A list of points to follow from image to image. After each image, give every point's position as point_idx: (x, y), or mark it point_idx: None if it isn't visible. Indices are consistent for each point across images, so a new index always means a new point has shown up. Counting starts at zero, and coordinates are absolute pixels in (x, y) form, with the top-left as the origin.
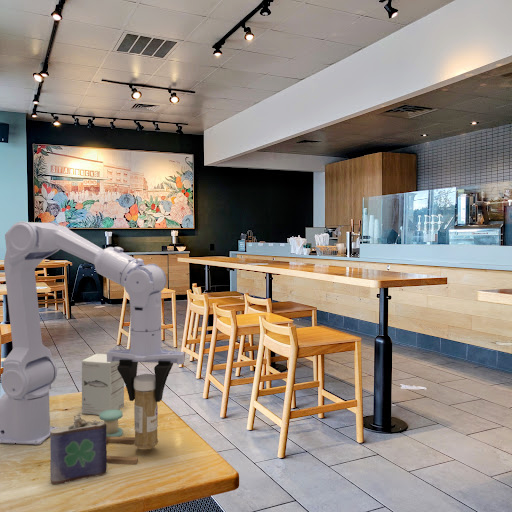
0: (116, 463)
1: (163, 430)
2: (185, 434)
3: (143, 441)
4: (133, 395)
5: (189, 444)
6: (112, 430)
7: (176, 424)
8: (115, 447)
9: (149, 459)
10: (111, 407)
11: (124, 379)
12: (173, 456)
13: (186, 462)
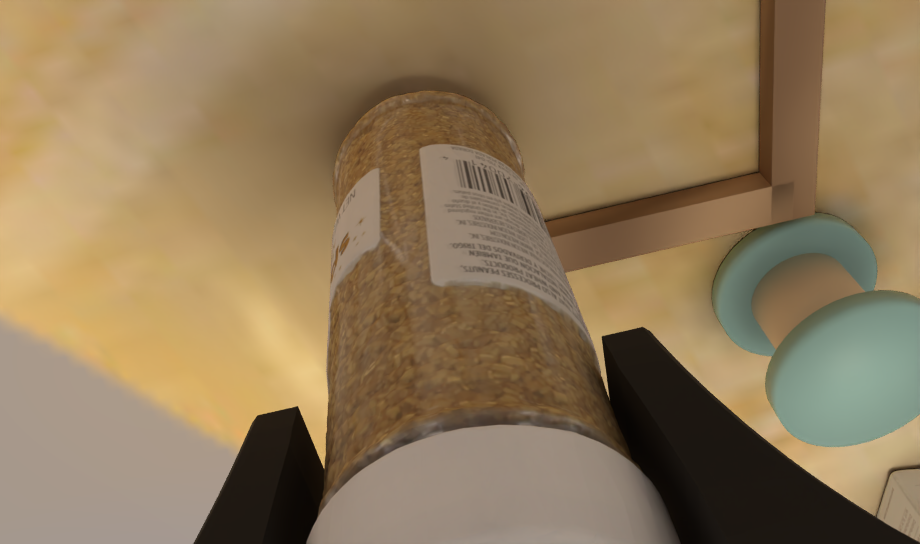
0: None
1: None
2: None
3: (406, 120)
4: (621, 397)
5: (183, 334)
6: (785, 280)
7: None
8: (677, 129)
9: (324, 40)
10: (913, 523)
11: (847, 520)
12: (175, 144)
13: (13, 90)
